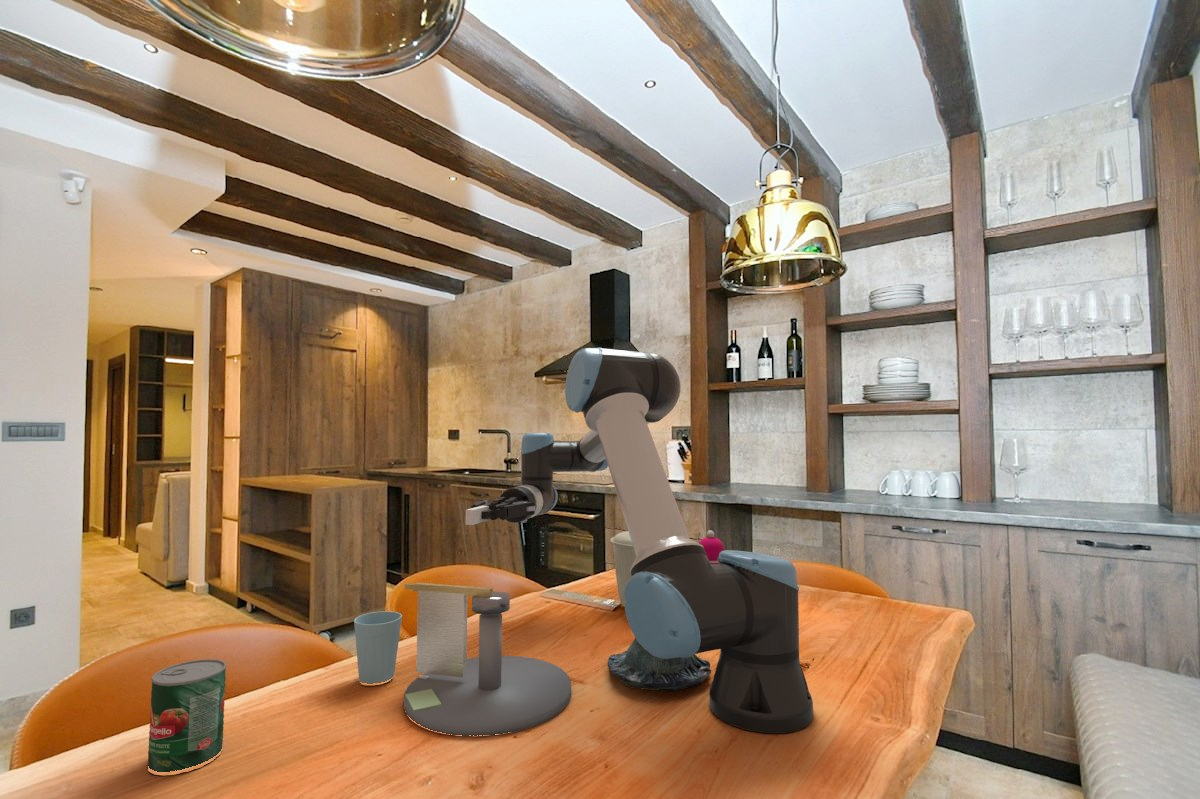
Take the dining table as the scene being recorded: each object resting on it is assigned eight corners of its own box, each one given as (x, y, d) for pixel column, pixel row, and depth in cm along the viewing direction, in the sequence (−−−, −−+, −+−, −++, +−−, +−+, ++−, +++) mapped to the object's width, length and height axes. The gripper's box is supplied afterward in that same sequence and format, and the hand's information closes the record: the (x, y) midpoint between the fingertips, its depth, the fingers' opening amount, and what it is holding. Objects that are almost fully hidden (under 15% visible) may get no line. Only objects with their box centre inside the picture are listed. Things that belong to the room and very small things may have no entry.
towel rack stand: (514, 673, 94) (515, 585, 95) (499, 689, 88) (500, 594, 89) (413, 662, 99) (415, 578, 100) (392, 676, 93) (394, 586, 94)
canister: (601, 615, 135) (601, 524, 136) (620, 595, 152) (620, 514, 153) (678, 622, 129) (677, 527, 131) (689, 601, 147) (688, 517, 148)
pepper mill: (725, 614, 135) (724, 528, 136) (729, 624, 128) (728, 533, 129) (694, 613, 136) (693, 527, 137) (696, 623, 128) (695, 532, 130)
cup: (345, 691, 94) (348, 625, 94) (358, 672, 101) (361, 611, 102) (394, 688, 95) (396, 623, 95) (403, 670, 102) (405, 610, 103)
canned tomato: (236, 742, 78) (239, 658, 78) (197, 776, 70) (201, 682, 71) (175, 743, 77) (180, 659, 78) (130, 777, 69) (135, 683, 70)
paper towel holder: (597, 714, 86) (597, 627, 87) (415, 753, 75) (417, 654, 76) (540, 655, 109) (540, 588, 110) (395, 679, 98) (397, 604, 99)
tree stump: (717, 660, 108) (718, 571, 105) (704, 738, 89) (704, 632, 86) (623, 645, 113) (621, 560, 110) (591, 715, 95) (588, 615, 91)
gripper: (548, 521, 125) (502, 540, 102) (493, 519, 129) (436, 536, 106) (548, 487, 126) (502, 497, 103) (493, 485, 129) (437, 495, 106)
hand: (469, 517), depth 104 cm, fingers closed
